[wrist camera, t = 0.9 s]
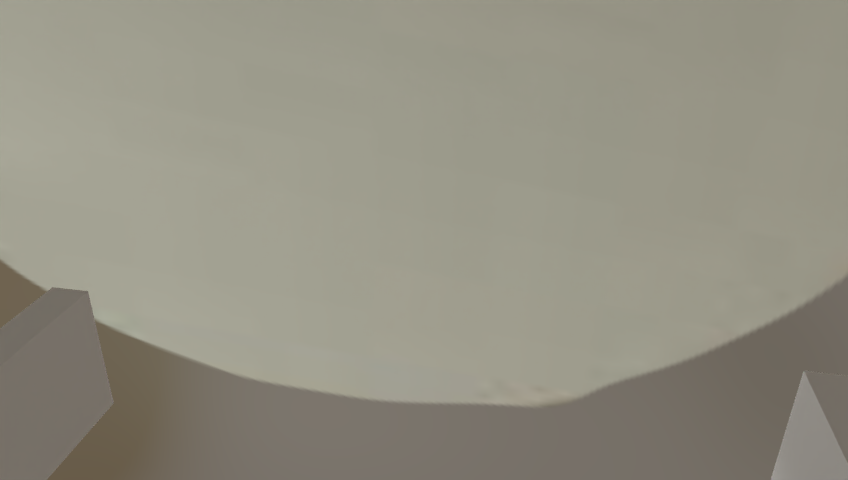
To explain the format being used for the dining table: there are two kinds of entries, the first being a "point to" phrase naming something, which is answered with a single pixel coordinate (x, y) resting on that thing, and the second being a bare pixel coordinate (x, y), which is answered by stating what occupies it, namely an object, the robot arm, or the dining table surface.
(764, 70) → the dining table surface
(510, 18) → the dining table surface
